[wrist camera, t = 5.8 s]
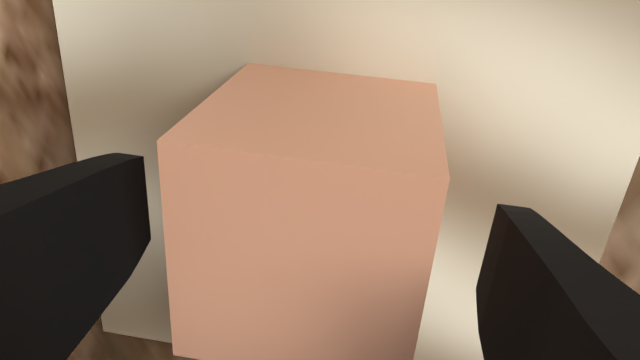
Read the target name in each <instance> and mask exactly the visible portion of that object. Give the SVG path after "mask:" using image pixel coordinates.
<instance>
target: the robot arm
mask: <svg viewBox="0 0 640 360" xmlns="http://www.w3.org/2000/svg"><path fill="white" fill-rule="evenodd" d="M150 240H151V232H150V221H149V210H148V199H147V188H146V177H145V166H144V156H139V155H131V154H124V153H110V154H104V155H99V156H95V157H91V158H88V159H84V160H81V161H77V162H74V163H70V164H67V165H64V166H61V167H57V168H54V169H51V170H48V171H44V172H41V173H38V174H35V175H31V176H28V177H25V178H22V179H18V180H15V181H11V182H8V183H4V184H1V185H0V360H66V359H67V358H68V357H69V355H70V354H71V353H72V352H73V350H74V349H75V348H76V347H77V345H78V344H79V343H80V341H81V340H82V339H83V338H84V336H85V335H86V334H87V332H88V331H89V330H90V329H91V327H92V326H93V325H94V323H95V322H96V321H97V320H98V318H99V317H100V316H101V315H102V313H103V312H104V311H105V309H106V308H107V307H108V306H109V304H110V303H111V302H112V300H113V299H114V298H115V296H116V295H117V294H118V293H119V291H120V290H121V289H122V287H123V286H124V285H125V283H126V282H127V281H128V279H129V278H130V276H131V275H132V273H133V271H134V270H135V268H136V266H137V265H138V263H139V261H140V259H141V257H142V256H143V254H144V252H145V250H146V248H147V246H148V244H149V242H150ZM476 304H477V320H478V333H479V338H480V343H481V348H482V353H483V358H484V360H640V295H639V294H638V293H637V292H635V291H634V290H632V289H631V288H630V287H628V286H627V285H626V284H624V283H623V282H622V281H620V280H619V279H618V278H616V277H615V276H614V275H612V274H611V273H610V272H609V271H607V270H606V269H605V268H604V267H602V266H601V265H600V264H599V263H597V262H596V261H595V260H594V259H592V258H591V257H590V256H589V255H588V254H586V253H585V252H584V251H583V250H582V249H580V248H579V247H578V246H577V245H576V244H574V243H573V242H572V241H571V240H570V239H568V238H567V237H566V236H565V235H564V234H563V233H561V232H560V231H559V230H558V229H557V228H556V227H554V226H553V225H552V224H551V223H550V222H548V221H547V220H546V219H545V218H543V217H542V216H541V215H540V214H538V213H537V212H536V211H534V210H533V209H531V208H527V207H520V206H512V205H505V204H497V207H496V211H495V215H494V219H493V223H492V226H491V230H490V234H489V238H488V242H487V246H486V250H485V254H484V258H483V262H482V266H481V270H480V273H479V277H478V281H477V285H476Z"/></svg>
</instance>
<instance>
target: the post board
mask: <svg viewBox="0 0 640 360" xmlns="http://www.w3.org/2000/svg"><path fill="white" fill-rule="evenodd" d="M52 1H53V7H54V14H55V20H56V27H57V33H58V40H59V46H60V53H61V59H62V66H63V72H64V79H65V85H66V92H67V98H68V105H69V111H70V118H71V124H72V131H73V137H74V144H75V150H76V157H77V161H81V160H84V159H88V158H91V157H95V156H99V155H104V154H110V153H124V154H131V155H139V156H144V166H145V177H146V188H147V199H148V210H149V221H150V232H151V240H150V242H149V244H148V246H147V248H146V250H145V252H144V254H143V256H142V257H141V259H140V261H139V263H138V265H137V266H136V268H135V270H134V271H133V273H132V275H131V276H130V278H129V279H128V281H127V282H126V283H125V285H124V286H123V287H122V289H121V290H120V291H119V293H118V294H117V295H116V296H115V298H114V299H113V300H112V302H111V303H110V304H109V306H108V307H107V308H106V309H105V311H104V312H103V313H102V315H101V320H102V326H103V331H105V332H111V333H117V334H122V335H128V336H134V337H139V338H145V339H151V340H157V341H162V342H168V343H172V333H171V320H170V307H169V294H168V281H167V268H166V255H165V242H164V229H163V216H162V203H161V190H160V177H159V164H158V151H157V140H158V139H159V138H160V137H161V136H163V135H164V134H165V133H166V132H167V131H169V130H170V129H171V128H172V127H173V126H174V125H176V124H177V123H178V122H179V121H180V120H182V119H183V118H184V117H185V116H186V115H188V114H189V113H190V112H191V111H192V110H193V109H195V108H196V107H197V106H198V105H199V104H201V103H202V102H203V101H204V100H205V99H206V98H208V97H209V96H210V95H211V94H212V93H214V92H215V91H216V90H217V89H218V88H220V87H221V86H222V85H223V84H224V83H225V82H227V81H228V80H229V79H230V78H231V77H233V76H234V75H235V74H236V73H237V72H239V71H240V70H241V69H242V68H243V67H244V66H246V65H247V64H248V63H253V64H262V65H271V66H280V67H289V68H298V69H307V70H316V71H325V72H334V73H343V74H352V75H361V76H370V77H379V78H388V79H397V80H407V81H416V82H425V83H434V84H436V86H437V93H438V100H439V107H440V114H441V121H442V128H443V134H444V141H445V148H446V155H447V162H448V169H449V176H450V181H449V186H448V191H447V196H446V201H445V206H444V211H443V215H442V220H441V225H440V230H439V235H438V240H437V245H436V250H435V255H434V260H433V265H432V270H431V275H430V280H429V285H428V290H427V294H426V299H425V304H424V309H423V314H422V319H421V324H420V329H419V334H418V339H417V344H416V349H415V354H414V359H413V360H484V358H483V353H482V348H481V343H480V338H479V333H478V320H477V304H476V285H477V281H478V277H479V273H480V270H481V266H482V262H483V258H484V254H485V250H486V246H487V242H488V238H489V234H490V230H491V226H492V223H493V219H494V215H495V211H496V207H497V204H505V205H512V206H520V207H527V208H531V209H533V210H534V211H536V212H537V213H538V214H540V215H541V216H542V217H543V218H545V219H546V220H547V221H548V222H550V223H551V224H552V225H553V226H554V227H556V228H557V229H558V230H559V231H560V232H561V233H563V234H564V235H565V236H566V237H567V238H568V239H570V240H571V241H572V242H573V243H574V244H576V245H577V246H578V247H579V248H580V249H582V250H583V251H584V252H585V253H586V254H588V255H589V256H590V257H591V258H592V259H594V260H595V261H596V262H597V263H599V262H600V259H601V257H602V254H603V251H604V249H605V246H606V243H607V241H608V238H609V235H610V233H611V230H612V227H613V225H614V222H615V219H616V217H617V214H618V212H619V209H620V206H621V204H622V201H623V198H624V196H625V193H626V190H627V188H628V185H629V182H630V180H631V177H632V174H633V172H634V169H635V166H636V164H637V161H638V158H639V156H640V0H52Z"/></svg>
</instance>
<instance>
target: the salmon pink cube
mask: <svg viewBox="0 0 640 360" xmlns="http://www.w3.org/2000/svg"><path fill="white" fill-rule="evenodd" d="M157 151H158V164H159V177H160V190H161V203H162V216H163V229H164V242H165V255H166V268H167V281H168V294H169V307H170V320H171V333H172V346H173V355H176V356H181V357H187V358H193V359H198V360H413V359H414V354H415V349H416V344H417V339H418V334H419V329H420V324H421V319H422V314H423V309H424V304H425V299H426V294H427V290H428V285H429V280H430V275H431V270H432V265H433V260H434V255H435V250H436V245H437V240H438V235H439V230H440V225H441V220H442V215H443V211H444V206H445V201H446V196H447V191H448V186H449V181H450V176H449V169H448V162H447V155H446V148H445V141H444V134H443V128H442V121H441V114H440V107H439V100H438V93H437V86H436V84H434V83H425V82H416V81H407V80H397V79H388V78H379V77H370V76H361V75H352V74H343V73H334V72H325V71H316V70H307V69H298V68H289V67H280V66H271V65H262V64H253V63H248V64H247V65H246V66H244V67H243V68H242V69H241V70H240V71H239V72H237V73H236V74H235V75H234V76H233V77H231V78H230V79H229V80H228V81H227V82H225V83H224V84H223V85H222V86H221V87H220V88H218V89H217V90H216V91H215V92H214V93H212V94H211V95H210V96H209V97H208V98H206V99H205V100H204V101H203V102H202V103H201V104H199V105H198V106H197V107H196V108H195V109H193V110H192V111H191V112H190V113H189V114H188V115H186V116H185V117H184V118H183V119H182V120H180V121H179V122H178V123H177V124H176V125H174V126H173V127H172V128H171V129H170V130H169V131H167V132H166V133H165V134H164V135H163V136H161V137H160V138H159V139H158V140H157Z"/></svg>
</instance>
